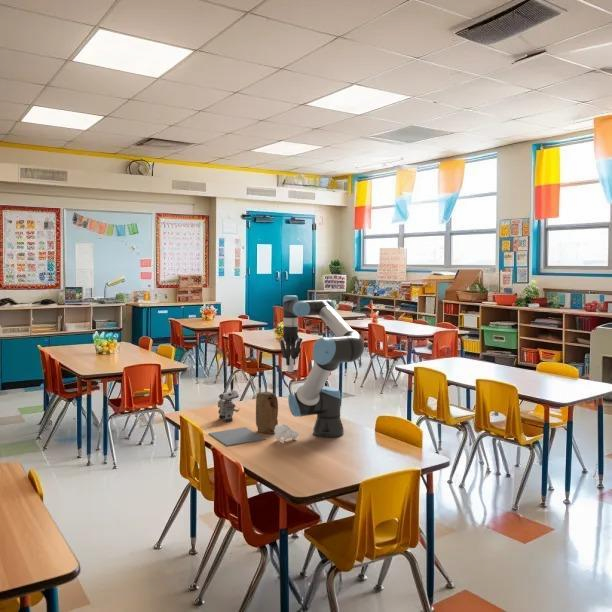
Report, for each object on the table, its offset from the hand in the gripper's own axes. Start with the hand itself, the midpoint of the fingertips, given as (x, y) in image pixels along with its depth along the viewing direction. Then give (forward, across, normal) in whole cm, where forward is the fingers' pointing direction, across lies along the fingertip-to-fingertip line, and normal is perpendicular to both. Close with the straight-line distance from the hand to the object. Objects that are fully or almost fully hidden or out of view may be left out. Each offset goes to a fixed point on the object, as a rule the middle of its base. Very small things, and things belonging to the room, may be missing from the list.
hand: (290, 371), depth 306 cm
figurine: (+30, +20, -31) cm, 48 cm away
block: (+30, +14, 0) cm, 33 cm away
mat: (+29, +30, 0) cm, 42 cm away
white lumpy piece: (+30, +12, +18) cm, 37 cm away
